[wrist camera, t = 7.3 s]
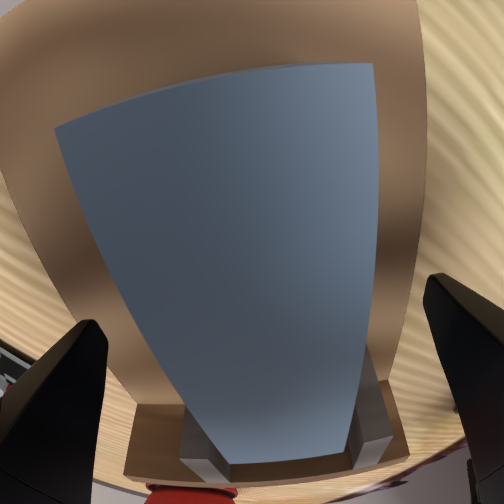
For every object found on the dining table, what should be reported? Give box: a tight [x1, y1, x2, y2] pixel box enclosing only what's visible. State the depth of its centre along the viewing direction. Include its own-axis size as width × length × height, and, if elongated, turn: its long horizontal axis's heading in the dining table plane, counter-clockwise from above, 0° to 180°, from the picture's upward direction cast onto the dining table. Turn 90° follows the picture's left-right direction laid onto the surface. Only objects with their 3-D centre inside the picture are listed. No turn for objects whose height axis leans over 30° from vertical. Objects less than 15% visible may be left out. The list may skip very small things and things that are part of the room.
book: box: [54, 62, 379, 464], centre depth 8 cm, size 11×4×6 cm, turn 9°
